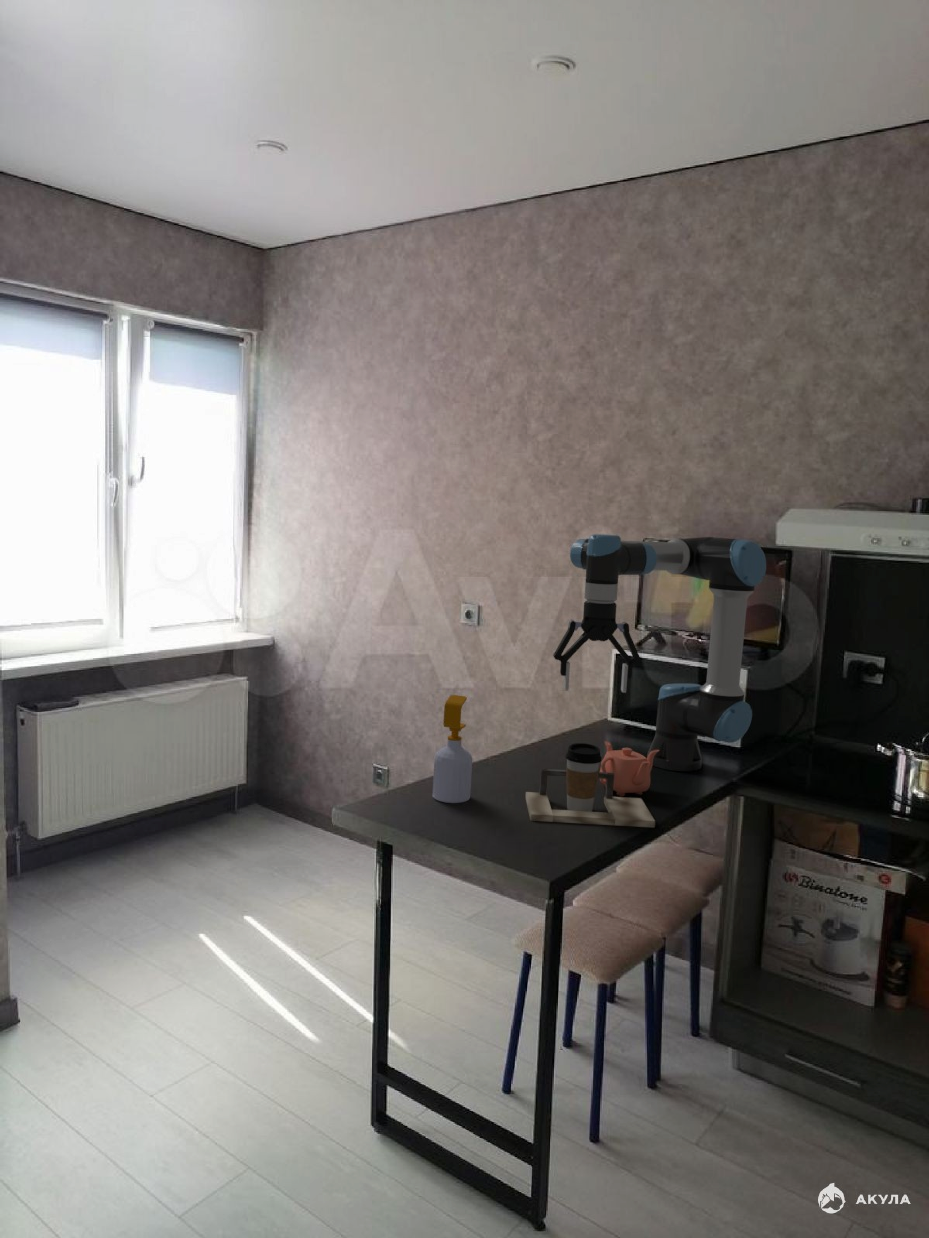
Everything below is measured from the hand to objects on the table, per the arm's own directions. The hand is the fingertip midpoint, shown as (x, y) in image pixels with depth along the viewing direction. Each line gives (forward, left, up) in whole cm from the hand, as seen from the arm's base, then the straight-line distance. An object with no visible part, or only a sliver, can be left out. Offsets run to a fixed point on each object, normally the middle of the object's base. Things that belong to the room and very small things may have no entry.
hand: (594, 690), depth 215 cm
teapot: (-13, -13, -28) cm, 33 cm away
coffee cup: (+2, +4, -28) cm, 28 cm away
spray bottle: (+32, +1, -28) cm, 43 cm away
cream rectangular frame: (0, +6, -28) cm, 28 cm away
